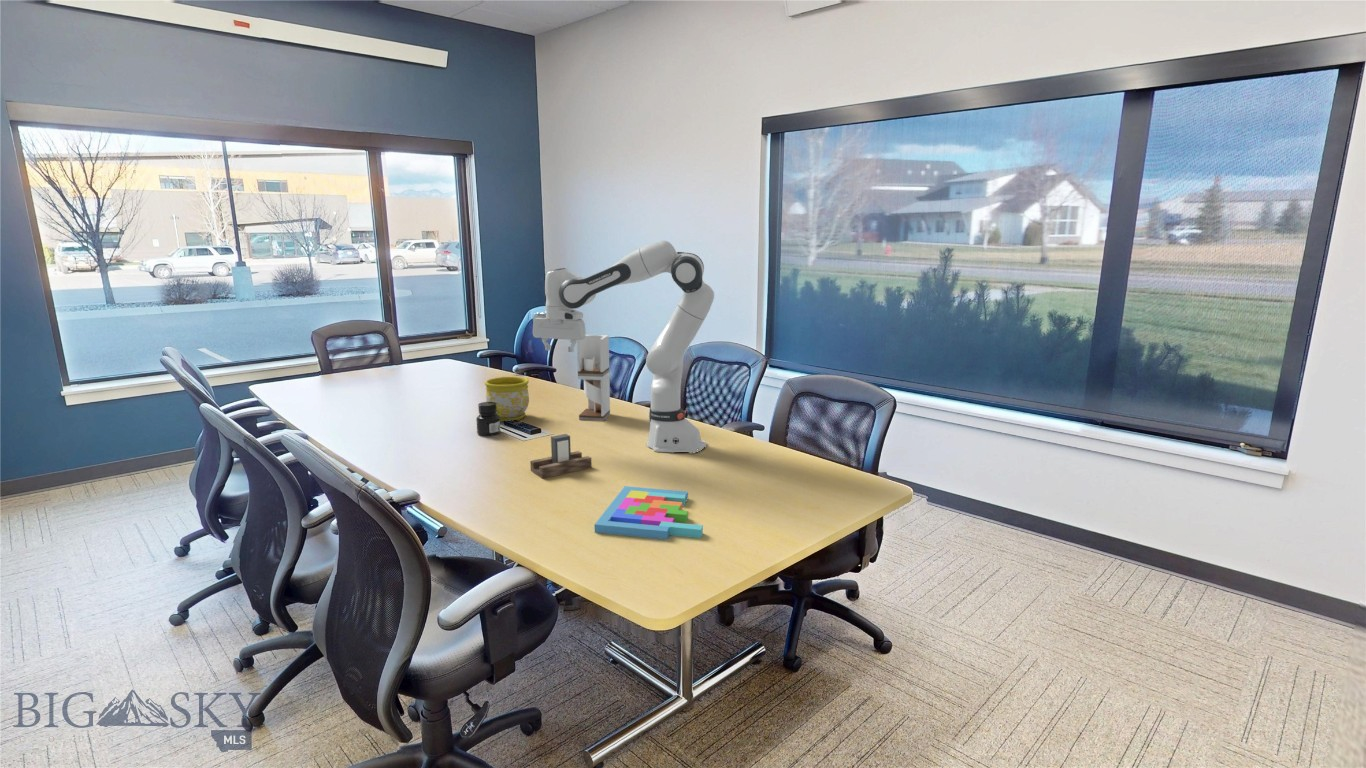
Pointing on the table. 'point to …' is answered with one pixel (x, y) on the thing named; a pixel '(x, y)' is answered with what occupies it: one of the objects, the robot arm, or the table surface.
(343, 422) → the table surface
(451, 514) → the table surface
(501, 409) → the flowerpot
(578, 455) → the display ledge
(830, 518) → the table surface
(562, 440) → the dark grey rectangular block
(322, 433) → the table surface
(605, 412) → the rack with curved panels
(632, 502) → the tetris game
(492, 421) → the ink bottle
